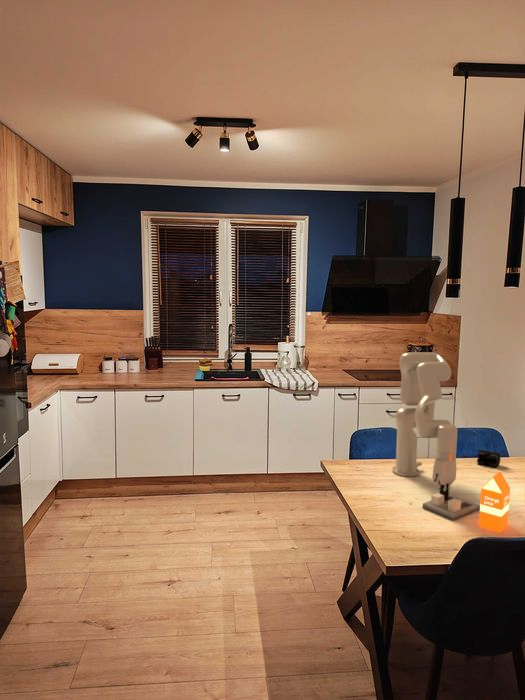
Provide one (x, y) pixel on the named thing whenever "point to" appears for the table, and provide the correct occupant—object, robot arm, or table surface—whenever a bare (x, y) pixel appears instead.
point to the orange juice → (494, 504)
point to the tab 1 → (437, 499)
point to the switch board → (442, 510)
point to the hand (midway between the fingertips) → (443, 498)
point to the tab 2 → (454, 505)
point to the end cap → (488, 459)
